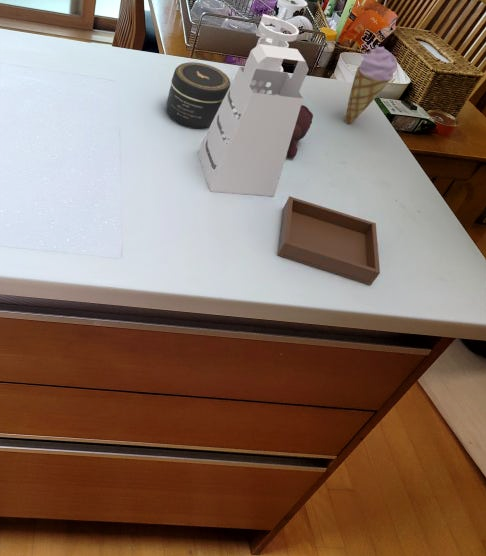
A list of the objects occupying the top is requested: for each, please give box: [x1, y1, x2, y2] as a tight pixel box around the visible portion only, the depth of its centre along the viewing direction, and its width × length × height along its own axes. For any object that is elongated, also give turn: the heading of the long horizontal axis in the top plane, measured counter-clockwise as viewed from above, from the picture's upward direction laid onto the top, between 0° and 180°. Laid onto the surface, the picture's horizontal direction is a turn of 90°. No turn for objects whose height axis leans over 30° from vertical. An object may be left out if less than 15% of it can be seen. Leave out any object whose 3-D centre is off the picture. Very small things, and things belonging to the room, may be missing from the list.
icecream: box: [286, 104, 314, 159], centre depth 96 cm, size 7×7×15 cm
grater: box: [197, 44, 310, 197], centre depth 81 cm, size 10×10×20 cm
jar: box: [166, 61, 231, 129], centre depth 96 cm, size 10×10×8 cm
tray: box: [277, 196, 381, 286], centre depth 79 cm, size 13×11×2 cm
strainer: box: [244, 13, 300, 94], centre depth 102 cm, size 7×7×15 cm
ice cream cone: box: [344, 45, 398, 125], centre depth 102 cm, size 7×6×15 cm
